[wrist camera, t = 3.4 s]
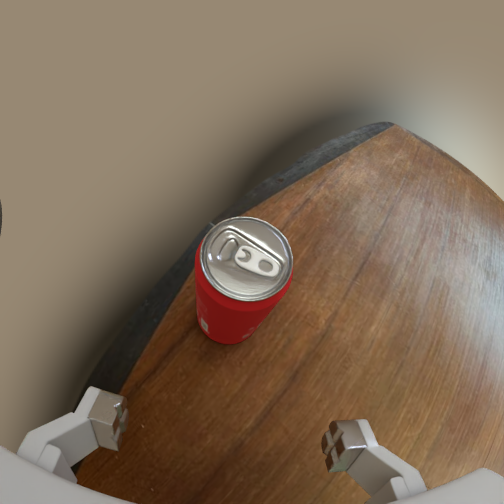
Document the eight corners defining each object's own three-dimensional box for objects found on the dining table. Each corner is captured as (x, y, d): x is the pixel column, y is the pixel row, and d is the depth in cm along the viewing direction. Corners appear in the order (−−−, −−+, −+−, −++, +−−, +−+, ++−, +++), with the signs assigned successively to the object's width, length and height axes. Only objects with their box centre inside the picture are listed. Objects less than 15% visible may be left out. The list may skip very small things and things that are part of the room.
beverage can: (213, 279, 26) (224, 198, 16) (265, 304, 26) (310, 238, 16) (186, 329, 24) (175, 275, 13) (241, 356, 24) (275, 324, 13)
